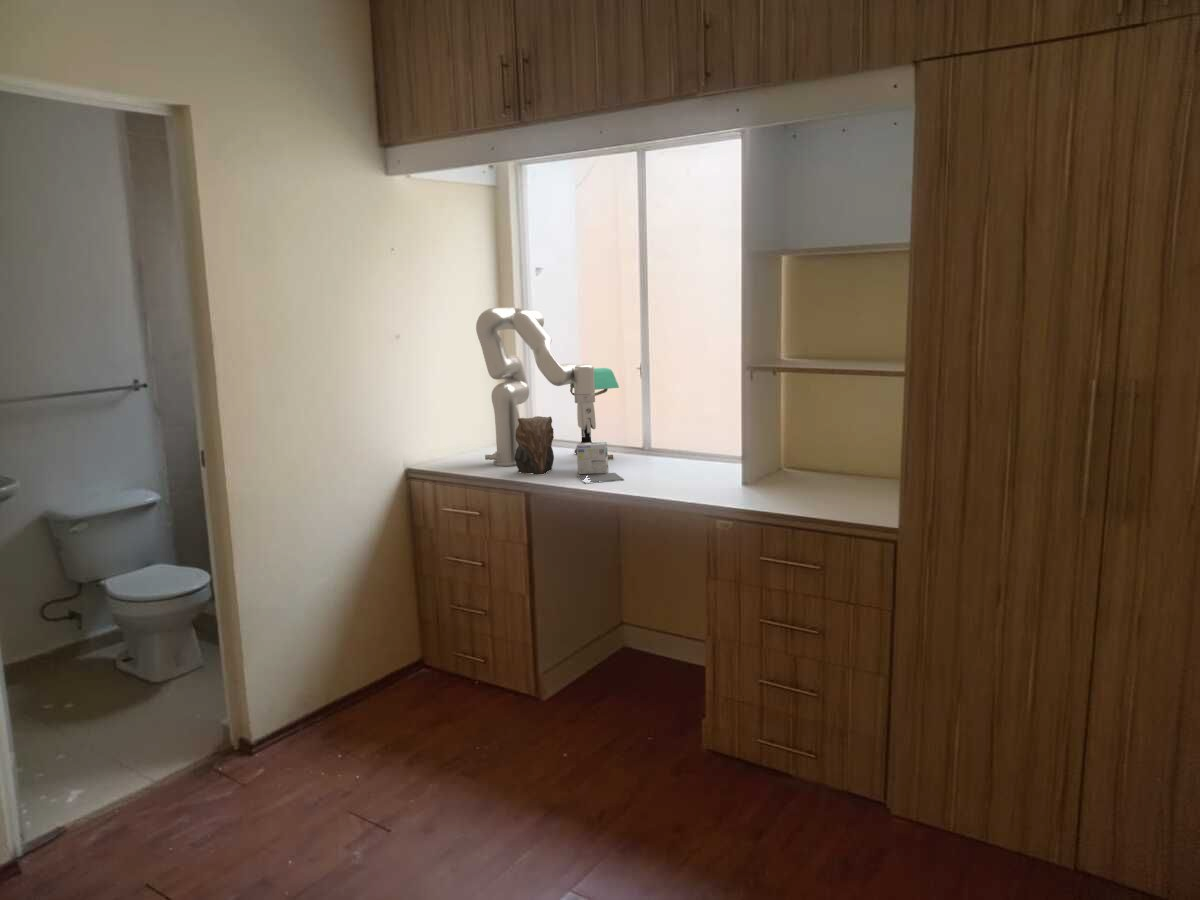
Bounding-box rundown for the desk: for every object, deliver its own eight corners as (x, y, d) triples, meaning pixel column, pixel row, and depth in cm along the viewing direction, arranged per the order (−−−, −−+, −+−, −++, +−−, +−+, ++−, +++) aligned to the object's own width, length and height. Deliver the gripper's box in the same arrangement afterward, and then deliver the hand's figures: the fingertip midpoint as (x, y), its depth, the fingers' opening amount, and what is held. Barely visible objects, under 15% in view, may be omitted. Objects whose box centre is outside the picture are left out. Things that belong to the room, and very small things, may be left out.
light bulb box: (608, 470, 317) (607, 441, 316) (607, 473, 311) (605, 443, 309) (579, 471, 318) (578, 442, 317) (577, 474, 312) (576, 444, 310)
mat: (584, 483, 298) (584, 482, 297) (576, 476, 309) (576, 475, 309) (623, 480, 301) (623, 479, 301) (614, 473, 312) (614, 472, 312)
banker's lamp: (601, 450, 358) (598, 366, 352) (623, 458, 340) (620, 369, 333) (566, 454, 352) (562, 368, 346) (586, 463, 333) (583, 372, 327)
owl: (513, 472, 320) (511, 419, 317) (532, 466, 331) (530, 414, 327) (542, 475, 314) (539, 420, 310) (560, 468, 325) (558, 415, 321)
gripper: (599, 400, 313) (601, 450, 316) (589, 395, 327) (591, 443, 330) (579, 401, 311) (581, 451, 314) (570, 396, 325) (572, 445, 328)
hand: (586, 447), depth 322 cm, fingers closed
